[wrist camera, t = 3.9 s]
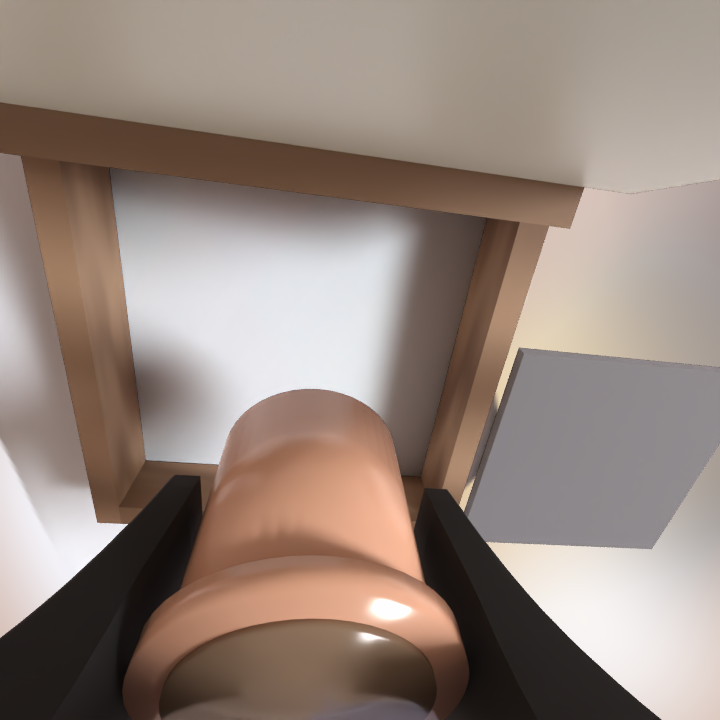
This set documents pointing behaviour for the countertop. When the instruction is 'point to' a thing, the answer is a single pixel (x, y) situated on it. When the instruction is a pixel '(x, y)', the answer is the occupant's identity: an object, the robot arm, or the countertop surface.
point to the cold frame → (273, 171)
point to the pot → (302, 584)
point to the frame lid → (397, 79)
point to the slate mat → (594, 449)
